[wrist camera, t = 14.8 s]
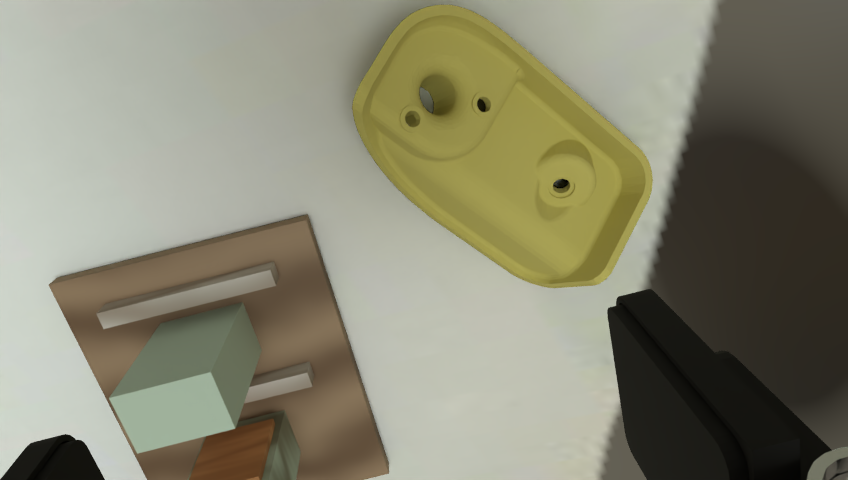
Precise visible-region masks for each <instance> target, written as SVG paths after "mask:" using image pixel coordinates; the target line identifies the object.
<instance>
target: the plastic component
mask: <svg viewBox="0 0 848 480" xmlns="http://www.w3.org/2000/svg"><path fill="white" fill-rule="evenodd" d="M420 87H422V88H424V89H425V90H427V91H428V92H429V93H430V95H431V96H432V99H433V102H434V111H433V114H432V113H430V112H428V111H427V110H426V109H425V107H424V106H423V104H422V102H421V100H420V95H419V89H420ZM478 99H482V100H483V101H484V102H485V105H486V109H485V112H481V111H480V110H479V109H478V106H477V101H478ZM352 109H353V116H354V121H355V124H356V127H357V130H358V132H359V135H360V137H361V139H362V141H363V143H364V145H365V146H366V148H367V150H368V152H369V153H370V155H371V156H372V158H373V159H374V161H375V162H376V164H377V165H378V166H379V167H380V169H381V170H382V171H383V173H384V174H385V175H386V176H387V177H388V178H389V180H390V181H391V182H392V183H393V184H394V185H395V186H396V187H397V188H398V189H399V190H400V191H401V192H402V193H403V194H404V195H405V196H406V197H407V198H408V199H409V200H410V201H411V202H413V203H414V204H415V205H416V206H417V207H418V208H420V209H421V210H422V211H423V212H425V213H426V214H427V215H428V216H430V217H431V218H432V219H433V220H435V221H436V222H438V223H439V224H441V225H442V226H443V227H445V228H446V229H448V230H449V231H451V232H452V233H453V234H455V235H456V236H458V237H459V238H461V239H462V240H464V241H465V242H466V243H468V244H469V245H471V246H472V247H474V248H475V249H476V250H478V251H479V252H481V253H482V254H484V255H485V256H487V257H488V258H489V259H491V260H492V261H494V262H495V263H497V264H498V265H500V266H501V267H502V268H504V269H505V270H507V271H508V272H510V273H511V274H512V275H514V276H516V277H518V278H520V279H522V280H525V281H527V282H529V283H532V284H535V285H539V286H543V287H548V288H562V287H577V286H592V285H597V284H600V283H601V282H603V281H604V280H605V279H606V278H607V277H608V276H609V275H610V274H611V273H612V271H613V269H614V267H615V265H616V263H617V261H618V259H619V257H620V255H621V253H622V251H623V249H624V247H625V245H626V243H627V241H628V239H629V237H630V235H631V233H632V231H633V229H634V227H635V225H636V223H637V221H638V219H639V217H640V215H641V213H642V212H643V210H644V208H645V206H646V204H647V202H648V200H649V197H650V194H651V191H652V181H653V179H652V170H651V167H650V164H649V162H648V160H647V158H646V156H645V155H644V153H643V152H642V151H641V150H640V149H639V148H638V147H637V146H636V145H635V144H633V143H632V142H631V141H630V140H629V139H628V138H627V137H625V136H624V135H623V134H622V133H621V132H620V131H619V130H617V129H616V128H615V127H614V126H613V125H612V124H611V123H609V122H608V121H607V120H606V119H605V118H604V117H602V116H601V115H600V114H599V113H598V112H597V111H596V110H594V109H593V108H592V107H591V106H590V105H589V104H588V103H586V102H585V101H584V100H583V99H582V98H581V97H580V96H578V95H577V94H576V93H575V92H574V91H573V90H572V89H570V88H569V87H568V86H567V85H566V84H565V83H563V82H562V81H561V80H560V79H559V78H558V77H557V76H555V75H554V74H553V73H552V72H551V71H550V70H549V69H547V68H546V67H545V66H544V65H543V64H542V63H541V62H539V61H538V60H537V59H536V58H535V57H534V56H532V55H531V54H530V53H529V52H528V51H527V50H526V49H524V48H523V47H522V46H521V45H520V44H518V43H517V42H516V41H515V40H513V39H512V38H511V37H510V36H509V35H507V34H506V33H505V32H504V31H502V30H501V29H500V28H498V27H497V26H496V25H494V24H493V23H491V22H490V21H488V20H487V19H485V18H484V17H482V16H480V15H478V14H476V13H474V12H472V11H470V10H468V9H465V8H462V7H458V6H453V5H435V6H429V7H426V8H423V9H420V10H418V11H416V12H414V13H412V14H410V15H409V16H408V17H407V18H405V19H404V20H403V21H402V22H401V23H400V24H399V25H398V26H397V27H396V28H395V30H394V31H393V32H392V33H391V35H390V36H389V38H388V39H387V41H386V42H385V44H384V46H383V47H382V49H381V51H380V52H379V54H378V56H377V57H376V59H375V61H374V62H373V64H372V66H371V67H370V69H369V70H368V72H367V74H366V75H365V77H364V78H363V80H362V82H361V83H360V85H359V87H358V89H357V92H356V94H355V97H354V100H353V106H352ZM407 123H408V124H409V125H410V126H408V124H407ZM559 179H565V180H568V181H569V184H568V185H567V186H566V187H564V188H560V189H558V188H556V187H554V186H553V183H554V182H555V181H556V180H559Z"/></svg>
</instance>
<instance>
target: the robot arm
mask: <svg viewBox="0 0 848 480" xmlns="http://www.w3.org/2000/svg"><path fill="white" fill-rule="evenodd" d="M607 313H608V322H609V328H610V335H611V342H612V348H613V355H614V362H615V368H616V375H617V382H618V388H619V395H620V402H621V408H622V415H623V422H624V428H625V434H626V438H627V441H628V445H629V448H630V450H631V452H632V454H633V456H634V458H635V460H636V461H637V463H638V465H639V466H640V468H641V470H642V472H643V473H644V475H645V477H646V478H647V480H848V447H842V448H839V449H836V450H833V451H832V450H831V449H830V448H829V447H828V446H827V445H826V444H825V443H824V442H823V441H822V440H821V439H820V438H819V437H818V436H817V435H815V433H813V432H812V431H811V430H810V429H809V428H808V427H807V426H806V425H805V424H804V423H803V422H802V421H801V420H800V419H799V418H798V417H797V416H796V415H795V414H794V413H793V412H792V411H791V410H789V408H788V407H786V406H785V405H784V404H783V403H782V402H781V401H780V400H779V399H778V398H777V397H776V396H775V395H774V394H773V393H772V392H771V391H770V390H769V389H768V388H767V387H765V385H764V384H763V383H762V382H761V381H759V380H758V379H757V378H756V377H755V376H754V375H753V374H752V373H751V372H750V371H749V370H748V369H747V368H746V367H745V366H744V365H743V364H742V363H741V362H740V361H739V360H738V359H737V358H736V357H734V356H733V355H732V354H730V353H729V352H727V351H719V352H715V353H714V352H713V351H712V350H711V349H710V348H709V347H708V346H707V345H706V343H705V342H703V341H702V340H701V338H700V337H699V336H698V335H697V334H696V333H695V332H693V330H692V329H691V328H690V327H689V326H688V325H687V324H685V322H684V321H683V320H682V319H681V318H680V317H679V316H678V315H677V314H676V313H675V312H674V311H673V310H672V309H671V308H670V307H669V306H668V305H667V304H666V303H665V302H664V301H663V300H662V299H661V298H660V297H659V296H658V295H657V294H656V293H655V292H654V291H653V290H651V289H648V290H644V291H640V292H635V293H631V294H627V295H623V296H619V297H618V298H617V301H616V306H614V307H610V308H608V312H607ZM0 480H105V479H104V477H103V475H102V474H101V472H100V470H99V468H98V466H97V464H96V462H95V461H94V459H93V457H92V455H91V453H90V451H89V449H88V448H87V446H86V445H85V443H84V442H82V441H81V440H75V438H73V437H72V436H70V435H66V434H65V435H61V436H57V437H53V438H49V439H45V440H41V441H36V442H33V443H31V444H29V445H28V446H27V447H26V448H25V449H24V451H23V452H22V453H21V454H20V456H19V457H18V458H17V459H16V461H15V462H14V463H13V464H12V466H11V467H10V468H9V469H8V471H7V472H6V473H5V474H4V476H3V477H2V478H1V479H0Z"/></svg>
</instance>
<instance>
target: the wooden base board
mask: <svg viewBox="0 0 848 480" xmlns="http://www.w3.org/2000/svg"><path fill="white" fill-rule="evenodd" d="M49 287H50V289H51V291H52V293H53V295H54V297H55V298H56V300H57V302H58V304H59V306H60V308H61V310H62V312H63V314H64V316H65V318H66V320H67V322H68V324H69V326H70V328H71V330H72V332H73V334H74V336H75V338H76V340H77V342H78V344H79V346H80V348H81V350H82V352H83V354H84V356H85V358H86V360H87V362H88V364H89V366H90V368H91V370H92V372H93V374H94V376H95V378H96V379H97V381H98V383H99V385H100V387H101V389H102V391H103V393H104V395H105V397H106V399H107V401H108V403H109V405H110V407H111V409H112V411H113V413H114V415H115V417H116V419H117V421H118V423H119V425H120V427H121V429H122V431H123V433H124V435H125V437H126V439H127V441H128V443H129V445H130V447H131V449H132V451H133V453H134V455H135V457H136V459H137V460H138V462H139V464H140V466H141V468H142V470H143V472H144V474H145V476H146V478H147V480H364V479H368V478H372V477H376V476H380V475H384V474H389V463H388V460H387V457H386V454H385V450H384V447H383V444H382V441H381V438H380V435H379V432H378V429H377V426H376V423H375V420H374V417H373V414H372V410H371V407H370V404H369V401H368V398H367V395H366V392H365V389H364V386H363V383H362V380H361V377H360V374H359V370H358V367H357V364H356V361H355V358H354V355H353V352H352V349H351V346H350V343H349V340H348V337H347V333H346V330H345V327H344V324H343V321H342V318H341V315H340V312H339V309H338V306H337V303H336V300H335V297H334V293H333V290H332V287H331V284H330V281H329V278H328V275H327V272H326V269H325V266H324V263H323V260H322V256H321V253H320V250H319V247H318V244H317V241H316V238H315V235H314V232H313V229H312V226H311V223H310V220H309V216H308V215H304V216H300V217H296V218H292V219H288V220H284V221H280V222H276V223H272V224H268V225H264V226H260V227H256V228H252V229H248V230H244V231H240V232H236V233H232V234H228V235H225V236H221V237H217V238H213V239H209V240H205V241H201V242H197V243H193V244H189V245H185V246H181V247H177V248H173V249H169V250H165V251H161V252H157V253H153V254H149V255H145V256H141V257H137V258H133V259H130V260H126V261H122V262H118V263H114V264H110V265H106V266H102V267H98V268H94V269H90V270H86V271H82V272H78V273H74V274H70V275H66V276H62V277H58V278H56V279H55V280H54V281H53V282H52V283H50V284H49ZM241 302H243V304H244V306H245V309H246V312H247V314H248V317H249V319H250V322H251V324H252V327H253V329H254V332H255V334H256V337H257V339H258V342H259V344H260V347H261V350H262V351H261V354H260V357H259V360H258V363H257V366H256V369H255V372H254V375H253V378H252V381H251V384H250V387H249V390H248V393H247V396H246V399H245V402H244V405H243V408H242V411H241V414H240V417H239V419H238V422H237V425H236V428H235V429H232V430H228V431H224V432H220V433H216V434H212V435H209V436H205V437H201V438H197V439H193V440H189V441H185V442H181V443H177V444H173V445H169V446H165V447H161V448H157V449H154V450H150V451H146V452H142V453H138V454H137V452H136V450H135V448H134V446H133V444H132V442H131V440H130V439H129V437H128V435H127V433H126V431H125V429H124V427H123V425H122V423H121V421H120V419H119V417H118V415H117V413H116V411H115V409H114V407H113V405H112V404H111V402H110V400H109V397H110V396H111V394H112V393H113V391H114V390H115V389H116V387H117V386H118V384H119V383H120V381H121V380H122V378H123V377H124V375H125V374H126V373H127V371H128V370H129V368H130V367H131V365H132V364H133V362H134V361H135V360H136V358H137V357H138V355H139V354H140V352H141V351H142V349H143V348H144V347H145V345H146V344H147V342H148V341H149V339H150V338H151V336H152V335H153V333H154V332H155V331H156V329H157V328H158V326H159V325H160V323H164V322H168V321H172V320H176V319H180V318H183V317H187V316H191V315H195V314H199V313H203V312H207V311H210V310H214V309H218V308H222V307H226V306H230V305H234V304H238V303H241Z"/></svg>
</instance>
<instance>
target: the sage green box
mask: <svg viewBox="0 0 848 480" xmlns="http://www.w3.org/2000/svg"><path fill="white" fill-rule="evenodd" d="M261 351H262V350H261V347H260V344H259V342H258V339H257V337H256V334H255V332H254V329H253V327H252V324H251V322H250V319H249V317H248V314H247V312H246V309H245V306H244V304H243V302H241V303H238V304H234V305H230V306H226V307H222V308H218V309H214V310H210V311H207V312H203V313H199V314H195V315H191V316H187V317H183V318H180V319H176V320H172V321H168V322H164V323H160V325H159V326H158V328H157V329H156V331H155V332H154V333H153V335H152V336H151V338H150V339H149V341H148V342H147V344H146V345H145V347H144V348H143V349H142V351H141V352H140V354H139V355H138V357H137V358H136V360H135V361H134V362H133V364H132V365H131V367H130V368H129V370H128V371H127V373H126V374H125V375H124V377H123V378H122V380H121V381H120V383H119V384H118V386H117V387H116V389H115V390H114V391H113V393H112V394H111V396H110V397H109V400H110V402H111V404H112V405H113V407H114V409H115V411H116V413H117V415H118V417H119V419H120V421H121V423H122V425H123V427H124V429H125V431H126V433H127V435H128V437H129V439H130V440H131V442H132V444H133V446H134V448H135V450H136V452H137V454H138V453H142V452H146V451H150V450H154V449H157V448H161V447H165V446H169V445H173V444H177V443H181V442H185V441H189V440H193V439H197V438H201V437H205V436H209V435H212V434H216V433H220V432H224V431H228V430H232V429H235V428H236V425H237V422H238V419H239V417H240V414H241V411H242V408H243V405H244V402H245V399H246V396H247V393H248V390H249V387H250V384H251V381H252V378H253V375H254V372H255V369H256V366H257V363H258V360H259V357H260V354H261Z"/></svg>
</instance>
